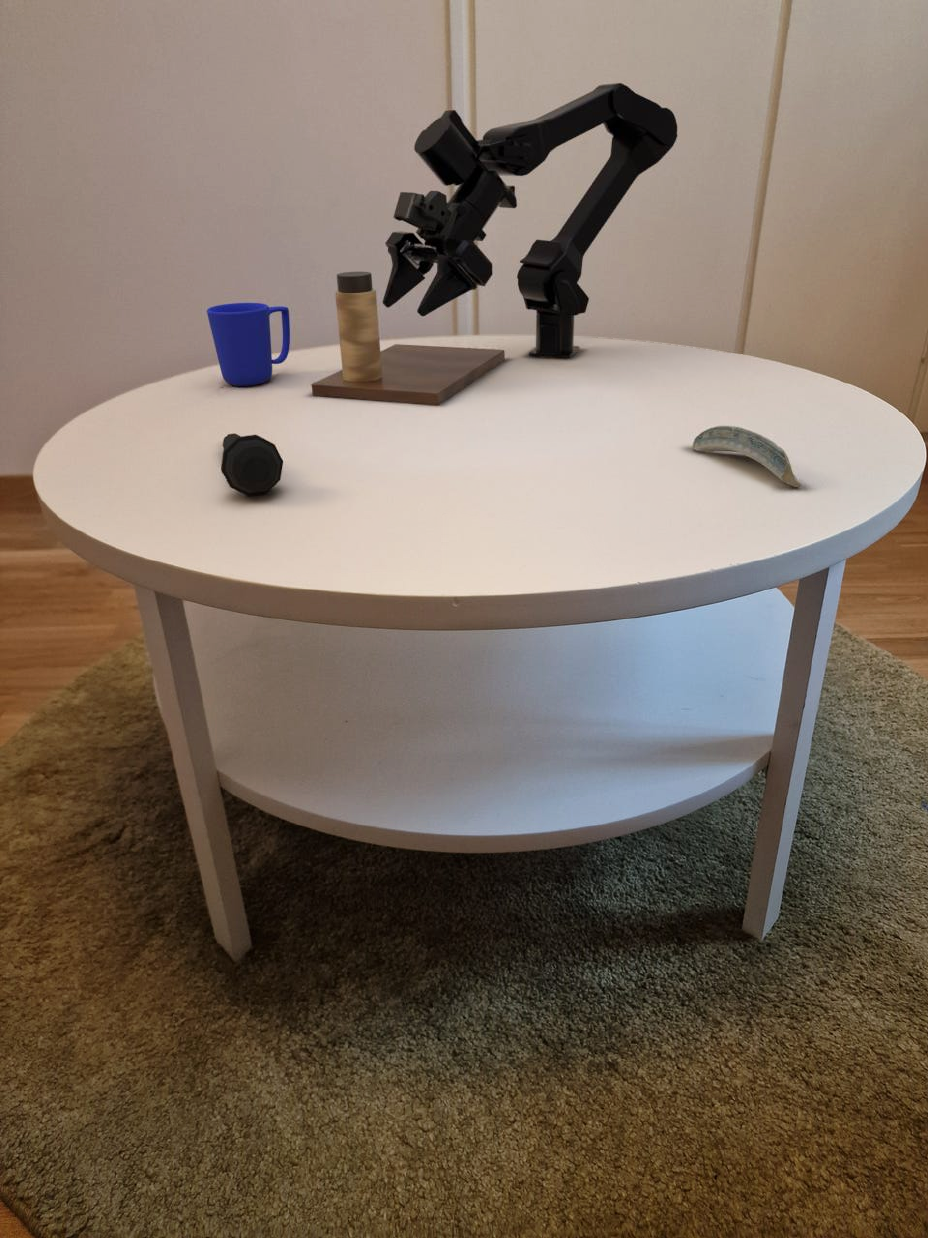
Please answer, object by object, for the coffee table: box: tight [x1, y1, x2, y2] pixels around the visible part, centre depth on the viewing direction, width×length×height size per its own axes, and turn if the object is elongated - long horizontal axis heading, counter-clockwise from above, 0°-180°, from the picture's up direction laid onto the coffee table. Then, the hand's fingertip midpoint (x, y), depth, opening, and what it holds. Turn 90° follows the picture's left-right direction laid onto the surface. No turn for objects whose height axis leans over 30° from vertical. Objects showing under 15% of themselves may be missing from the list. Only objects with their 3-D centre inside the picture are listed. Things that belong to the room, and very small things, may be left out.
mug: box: [206, 302, 291, 387], centre depth 119 cm, size 8×12×10 cm
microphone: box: [220, 432, 284, 497], centre depth 86 cm, size 6×6×20 cm
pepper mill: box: [334, 271, 382, 382], centre depth 111 cm, size 5×5×13 cm
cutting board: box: [311, 343, 506, 406], centre depth 120 cm, size 26×18×2 cm
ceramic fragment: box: [691, 425, 802, 488], centre depth 83 cm, size 14×5×4 cm, turn 23°
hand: (401, 309), depth 113 cm, fingers open, 9 cm apart
